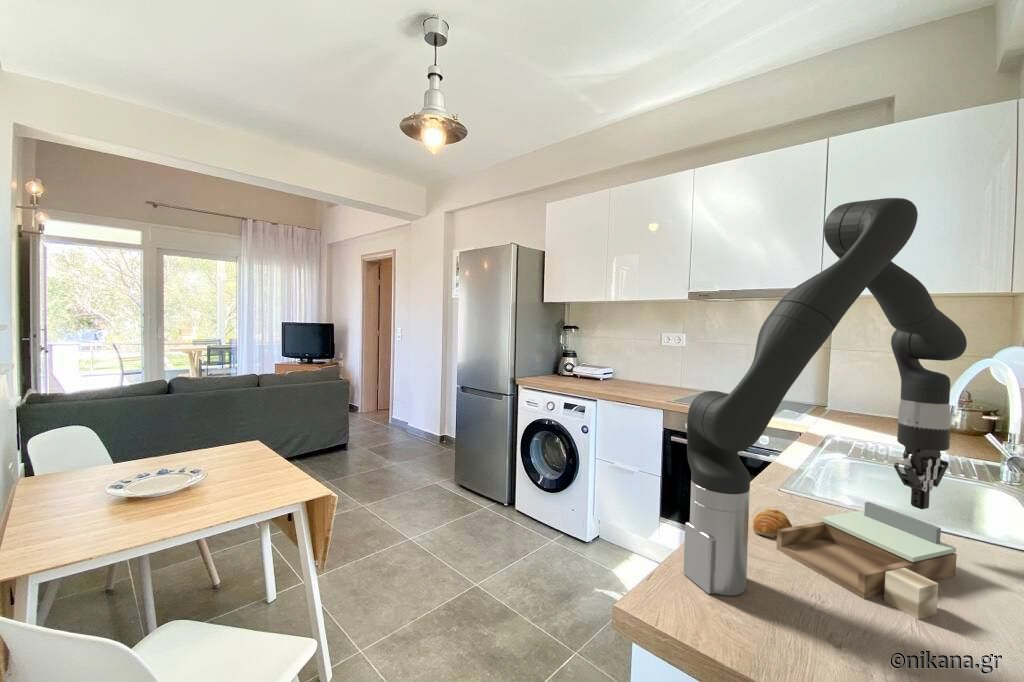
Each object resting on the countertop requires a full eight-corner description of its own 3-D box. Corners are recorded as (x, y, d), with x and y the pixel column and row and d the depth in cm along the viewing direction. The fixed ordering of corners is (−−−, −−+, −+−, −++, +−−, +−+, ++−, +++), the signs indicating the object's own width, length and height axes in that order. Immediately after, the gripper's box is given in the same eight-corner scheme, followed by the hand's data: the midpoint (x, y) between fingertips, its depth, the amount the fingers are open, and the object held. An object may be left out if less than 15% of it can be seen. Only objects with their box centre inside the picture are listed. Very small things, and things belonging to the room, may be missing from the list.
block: (917, 619, 64) (919, 588, 64) (884, 601, 68) (885, 571, 68) (936, 614, 65) (938, 583, 65) (902, 596, 69) (903, 567, 69)
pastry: (779, 544, 86) (779, 526, 86) (744, 532, 91) (745, 515, 91) (793, 530, 92) (794, 513, 92) (760, 519, 97) (760, 503, 97)
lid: (912, 562, 72) (913, 541, 72) (821, 521, 87) (821, 503, 87) (955, 552, 76) (957, 532, 75) (860, 514, 91) (861, 497, 90)
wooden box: (864, 598, 68) (865, 575, 68) (776, 548, 84) (777, 529, 84) (955, 575, 76) (956, 554, 75) (859, 533, 91) (860, 515, 91)
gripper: (925, 429, 78) (921, 519, 78) (968, 425, 82) (964, 511, 82) (879, 421, 85) (876, 503, 86) (921, 417, 89) (918, 496, 89)
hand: (919, 507), depth 84 cm, fingers closed
